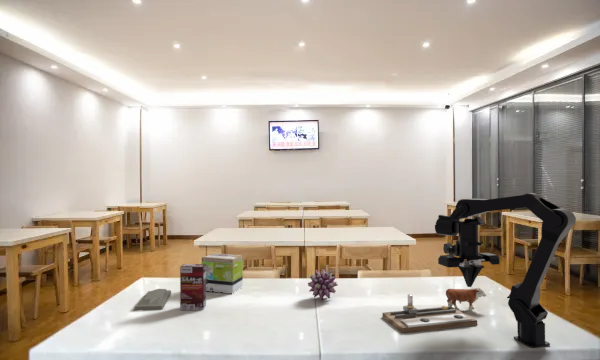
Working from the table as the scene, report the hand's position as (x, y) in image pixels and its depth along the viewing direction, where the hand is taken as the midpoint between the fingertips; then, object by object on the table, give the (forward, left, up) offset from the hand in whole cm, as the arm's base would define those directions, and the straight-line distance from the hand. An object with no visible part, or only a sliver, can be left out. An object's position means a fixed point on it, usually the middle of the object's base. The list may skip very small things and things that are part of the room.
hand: (469, 286), depth 122 cm
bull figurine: (+13, -8, -12) cm, 20 cm away
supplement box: (+39, +87, -12) cm, 96 cm away
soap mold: (+51, +102, -13) cm, 115 cm away
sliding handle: (+9, +16, -9) cm, 21 cm away
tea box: (+61, +76, -12) cm, 98 cm away
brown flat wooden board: (+6, +11, -12) cm, 17 cm away
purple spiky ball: (+37, +38, -12) cm, 54 cm away
